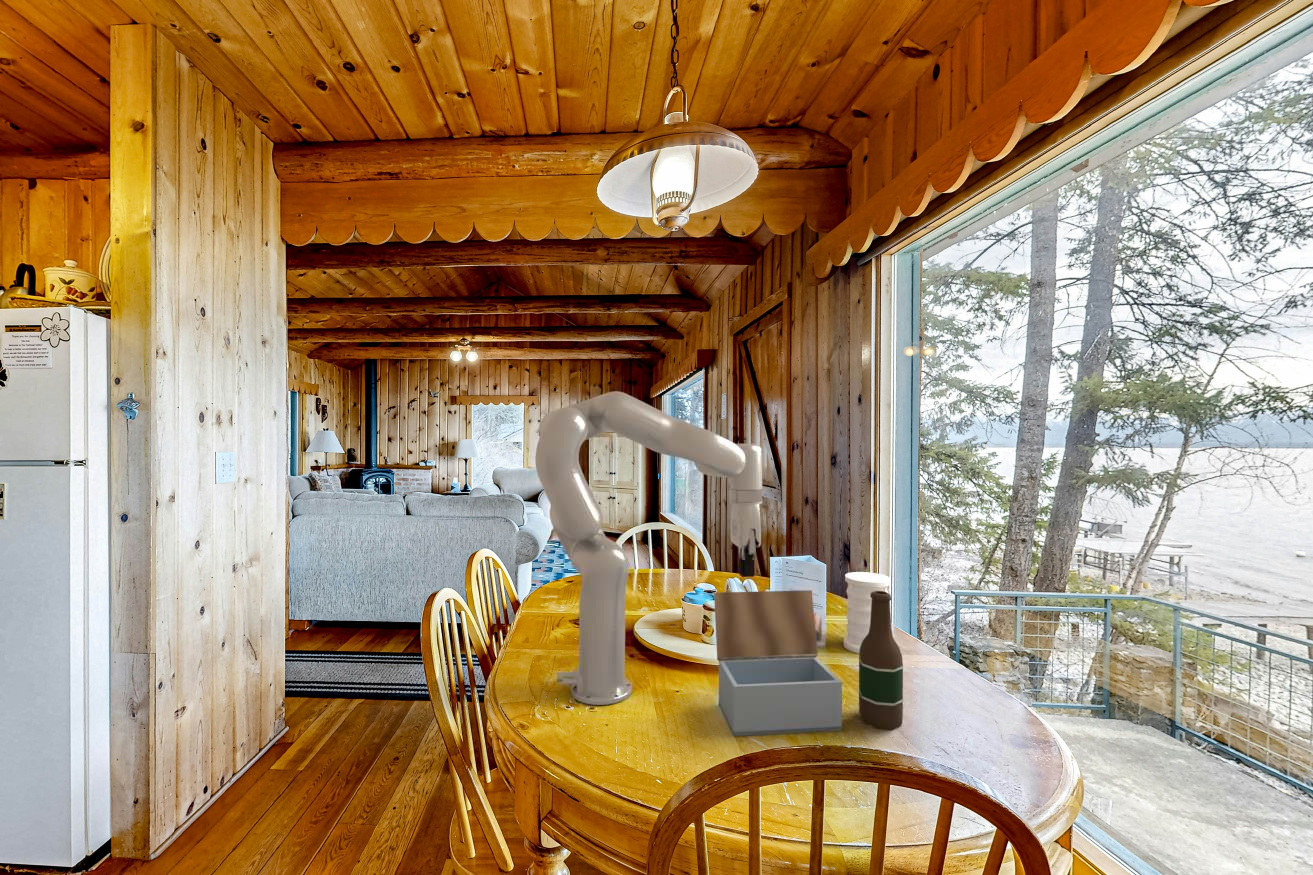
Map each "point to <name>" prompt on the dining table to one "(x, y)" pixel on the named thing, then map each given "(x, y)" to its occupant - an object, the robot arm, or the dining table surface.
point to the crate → (779, 696)
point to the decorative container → (861, 605)
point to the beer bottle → (880, 669)
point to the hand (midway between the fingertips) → (746, 575)
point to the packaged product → (820, 632)
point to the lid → (765, 625)
